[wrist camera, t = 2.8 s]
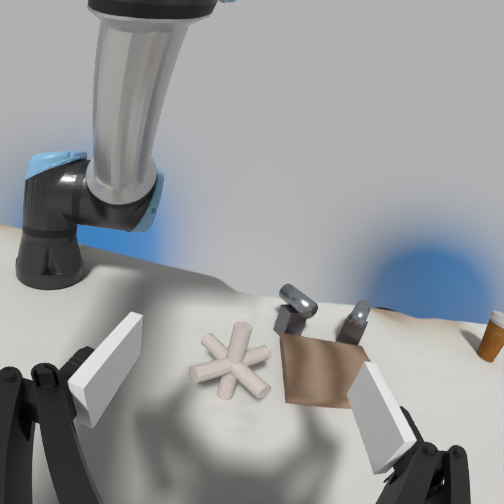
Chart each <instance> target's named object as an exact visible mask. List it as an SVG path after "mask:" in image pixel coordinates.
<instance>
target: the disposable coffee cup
mask: <svg viewBox="0 0 504 504" xmlns="http://www.w3.org/2000/svg"><path fill="white" fill-rule="evenodd" d="M503 346H504V314H503V313H501V312H498V311H493V312H492V313H491V314H490V319H489V323H488V325H487V328H486V331H485V333H484V336H483V339H482V341H481V344H480V346H479V349H478V351H477V354H478V355H479V356H480V357H481V358H482V359H484V360H485V361H488V362H493V361H494V359H495V358H496V356H497V355H498V353H499V352H500V350H501V349H502V347H503Z"/></svg>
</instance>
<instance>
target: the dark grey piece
mask: <svg viewBox="0 0 504 504" xmlns="http://www.w3.org/2000/svg"><path fill="white" fill-rule="evenodd" d="M370 309H371V307H370V304H369V303H368V302H367V301H364V300H362V301H359V302H358V303H357V304H356V306H355V308H354V309H353V311H352V312H351V314H349V315H348V317H347V318H346V320H345V322H344V325H343V327H342V330H341V332H340V334H339V337H338V339H337V341H336V342H338V343H344V344H351V345H358V344H359V341H360V339H361V337H362V335H363V333H364V330H365V328H366V326H367V323H368V322H367V321H366V319H367V317H368V314H369V312H370Z"/></svg>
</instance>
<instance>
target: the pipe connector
mask: <svg viewBox="0 0 504 504" xmlns="http://www.w3.org/2000/svg"><path fill="white" fill-rule="evenodd" d="M251 331H252V326H251V325H250V324H249V323H246V322H242V321H238V322H236V323H235V324H234V327H233V331H232V335H231V339H230V343H229V347H228V348H227V347H226V346H224V345H223V344H222V343H221V342H220V341H219V340H218V339H217V338H216V337H215V336H214V335H213V334H212V333H208V334H205V335H204V336H203V337H202V339H201V344H202V345H203V346H204V347H205V348H206V349H207V350H208V351H209V352H210V353H211V354H212V355H213V356H214V357H215V358H216V359H217V360H213V361H210V362H206V363H202V364H198V365H195V366H191V367H189V376H190V378H191V380H192V381H193V382H194V383H200V382H203V381H206V380H209V379H213V378H216V377H219V376H221V379H220V383H219V387H218V391H217V396H218V397H219V398H220V399H222V400H230V399H231V398H232V396H233V392H234V389H235V386H236V382H237V380H238V381H239V382H240V383H241V384H242V385H244V386H245V387H246V388H247V389H248V390H249V391H250V392H251V393H252V394H253V395H254V396H256V397H257V398H258V399H262V398H264V397H265V396H266V395H267V394H268V393H269V392H270V390H271V386H270V385H268V384H267V383H266V382H265V381H264V380H263V379H261V378H260V377H259V376H258V375H257V374H256V373H254V372H253V371H252V370H251V369H250V368H249V367H248V366H251V365H254V364H256V363H259V362H262V361H264V360H267V359H269V358H270V357H271V352H270V349H269V348H268V346H265V345H263V346H260V347H257V348H254V349H250V350H247V351H246V349H247V345H248V342H249V338H250V335H251Z"/></svg>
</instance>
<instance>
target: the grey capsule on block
mask: <svg viewBox="0 0 504 504" xmlns="http://www.w3.org/2000/svg"><path fill="white" fill-rule="evenodd" d="M279 296H280V298H281V299H283V300H284V301H285V302H286V303H287V305H281V307H280V310H279V313H278V316H277V320H276V323H275V326H274V331H275V332H276V333H277V334H278V335H279V336H280V337H281V335H282V333H287V334H292V335H297V336H301V333H302V331H303V328H304V325H305V323H306V320H307V319H309V318H311V317H313V316H314V315H315V313H316V312H317V309H318V305H317V303H315V302H314V301H313V300H311V299H310V298H309V297H307V296H306V295H304V294H303V293H302V292H301V291H299V290H298V289H296V288H295V287H294V286H292V285H291V284H286V285H284V286H283V287H282V288H281V290H280V292H279Z"/></svg>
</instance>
